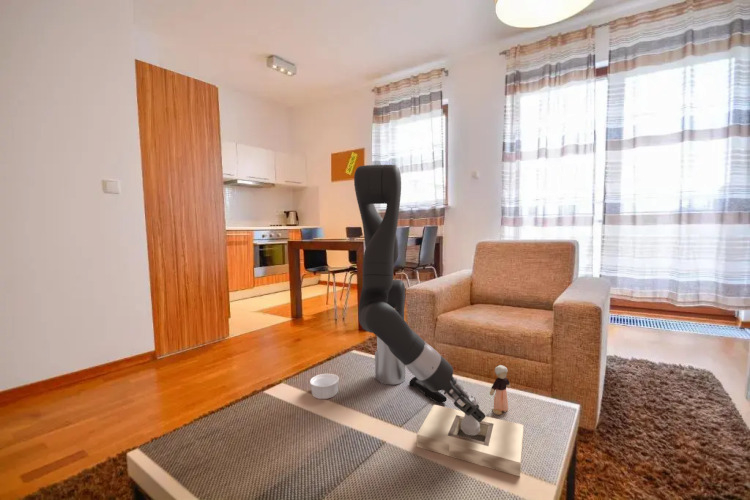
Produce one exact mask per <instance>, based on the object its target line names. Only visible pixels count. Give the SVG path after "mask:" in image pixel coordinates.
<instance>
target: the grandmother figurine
mask: <svg viewBox="0 0 750 500" xmlns="http://www.w3.org/2000/svg"><path fill="white" fill-rule="evenodd" d="M508 371H509V370H508V368H507V367H506V366H505V365H502V364H501V365H500V364H499V365H498V366H495V368H494V372H495V374H496V376H497V378H495V380H494V382H493V383H492V386H491V389H490V392H489V395H490V396H494V397H493V408H492V412H493V414H495V415H497V416H498V415H499V416H501V415H503V413H506V412H508V411H509V402H508V393H507V392H508V391H507V389H510V388H511V387H512V386H511V382H510V380H509V379H508V378H507V373H508Z"/></svg>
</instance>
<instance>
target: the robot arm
mask: <svg viewBox="0 0 750 500" xmlns="http://www.w3.org/2000/svg"><path fill="white" fill-rule="evenodd" d="M353 177H354V178H353V181H354V192H355V196H356V201H357V204H358V210H359V215H360V218H361V223H362V229H363V230H362V231H363V236H364V237H363V238H364V247H365V249H364V253H363V258H362V259H363V260H362V286H361V287H362V289H361V292H360V293H361V294H360V299H359V304H358V321H359V325H360V326H361V327H362V329H363V330H365V332H368V333H371V334H373V335H375V336H376V346H377V347H376V350H375V352H374V374H375V375H374V376H375V377H374V379H375V380H376V381H378V382H380V383H381V384H384V385H392V386H393V385H400V384H402V383H404V381H405V380H406V368H407V370H408V371H409V372H410V373H411V374H412V375H413V376H414V377H416V378H417V379H418V380H420V381H421V382H422V383H423V384H424V385H425V386H426V387H427V388H428V389H429V390H430V391H432V392H440V391H443V395H444V396H445V397H446V399H448V400H451V401H452V402H453V405H454V407H456V408H457V409H458V410H460V411H463V412H464V413H465V414H466V415H468V416H469V415H470V414H471V415H472V416H473V417H474V418H475V419H476V420H477V421H478V422H481V421H482V420H483V419H484V418H485V416H486V414H485V413H484V412H483V411H482V410H481V408H480V405H479V403H478V404H477V405H475V403H474V402H472V401H471V400H470V399H469V397H471V396H470V395H469V394H468V391H465V388H464V387H463V386H462V384H461V383H460V382H459V381H458V380H457V379H456V378H455V377H454V368H453V366H452V364H451V363H449V362H448V360H447V359H446V358H444V357H443V356H442V355H441V353H439V352H438V351H437V350H436V349H435V348H434V347H433V346H431V345H430V344H428V343H427V342H426V341H425V340H424V339H423V338H422V337H421V336H420V335H419V334H417V333H416V332H415V331H414V330H413V329H412V328H411V327H410V326H409V324H408V323H407V322H406V321H405V304H406V303H405V302H406V300H405V299H406V286H405V283H404V281H403V280H402V279H401V280H400V279H394V266H395V264H396V262H397V260H398V258H399V243H398V241H399V240H398V236H397V230H398V229H397V228H398V222H399V215H400V214H399V212H400V206H401V205H400V204H401V198H402V197H401V195H402V176H401V172H400V168H399V167H398V166H397V165H396V164H368V165H367V164H366V165H365V164H364V165H360V166H358V167H356V169H355V172H354V176H353ZM378 204H379V205H381V204H382V205H384V204H385V205H386V208H385V213H384V215H383V217H382V215H380V214H379V212H378V211H377V209H376V207H375V205H378ZM468 395H469V396H468Z"/></svg>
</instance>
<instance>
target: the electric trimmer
mask: <svg viewBox="0 0 750 500" xmlns="http://www.w3.org/2000/svg"><path fill="white" fill-rule="evenodd" d="M408 384H409V386H410V387H412V386H413V387H415V388H416V389H418V390H419V391H421V392H422V393H424V396H425V397H427V398H429V399H430V400H433V401H435V402H437V403H438V404H443V403H445V402H446V401H447V399H448V398H447V397H446V396H445V395H444V393H441V392H440V391H438V392H432V391H430V390H429V389H428V388H427V387H426V386H425V385H424V384H423V383H422V382H421V381H420V380H418V379H417V378H416V377H415V376H414V377H412V378H411V379H410V381H409V383H408Z"/></svg>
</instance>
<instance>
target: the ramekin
mask: <svg viewBox="0 0 750 500" xmlns="http://www.w3.org/2000/svg"><path fill="white" fill-rule="evenodd" d="M339 382H340V378H339V376H338V375H337V374H334V373H321V374H317V375H314V376H313V377H311V378H310V380H309V385H310V389H311V395H312V396H313V397H314V398H315V399H318V400H326V399H330V398H333V397H335V396H336V395H338V394H337V393H338V392H339Z"/></svg>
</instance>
